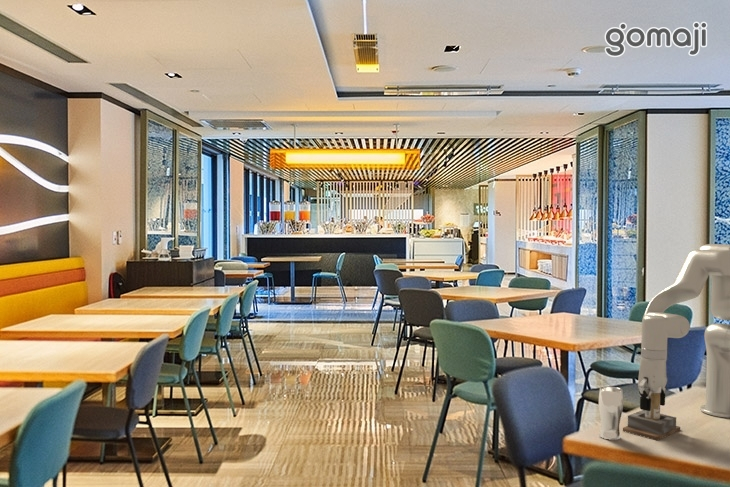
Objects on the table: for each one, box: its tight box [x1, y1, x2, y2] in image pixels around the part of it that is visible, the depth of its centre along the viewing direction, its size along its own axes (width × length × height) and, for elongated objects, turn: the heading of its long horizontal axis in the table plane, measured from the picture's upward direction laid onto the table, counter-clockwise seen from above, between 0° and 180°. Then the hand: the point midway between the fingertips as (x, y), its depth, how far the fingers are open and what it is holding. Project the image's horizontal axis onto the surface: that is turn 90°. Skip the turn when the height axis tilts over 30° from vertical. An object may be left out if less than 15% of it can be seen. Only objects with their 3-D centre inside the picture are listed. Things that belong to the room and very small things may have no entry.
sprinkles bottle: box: [645, 387, 661, 421], centre depth 201 cm, size 5×5×13 cm
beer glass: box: [598, 385, 624, 441], centre depth 193 cm, size 7×7×15 cm
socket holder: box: [622, 410, 681, 441], centre depth 201 cm, size 16×11×4 cm
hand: (652, 407), depth 201 cm, fingers open, 9 cm apart
